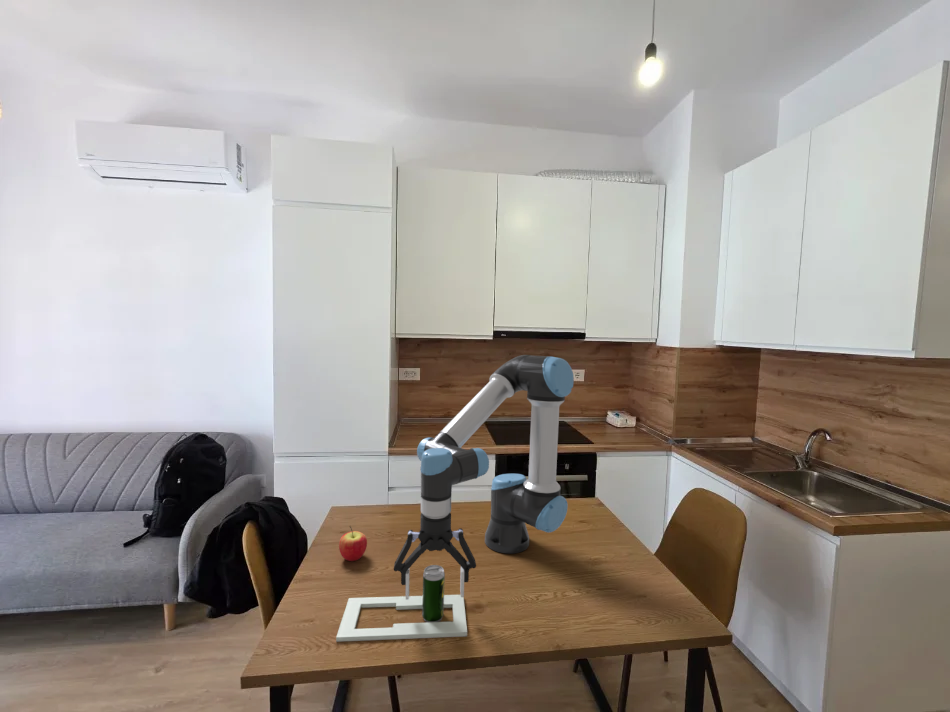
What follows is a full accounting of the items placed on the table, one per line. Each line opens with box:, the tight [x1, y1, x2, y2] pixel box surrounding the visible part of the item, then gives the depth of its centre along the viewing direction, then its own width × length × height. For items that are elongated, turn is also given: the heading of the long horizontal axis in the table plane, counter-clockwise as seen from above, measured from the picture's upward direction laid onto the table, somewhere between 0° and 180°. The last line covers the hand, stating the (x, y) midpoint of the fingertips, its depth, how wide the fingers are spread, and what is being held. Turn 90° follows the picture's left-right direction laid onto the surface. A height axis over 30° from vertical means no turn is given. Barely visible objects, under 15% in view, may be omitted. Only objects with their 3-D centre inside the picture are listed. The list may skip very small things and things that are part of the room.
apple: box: [338, 525, 368, 562], centre depth 128 cm, size 8×8×10 cm
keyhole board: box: [335, 594, 468, 642], centre depth 102 cm, size 30×14×1 cm, turn 96°
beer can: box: [421, 564, 446, 623], centre depth 103 cm, size 5×5×12 cm
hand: (434, 595), depth 103 cm, fingers open, 13 cm apart
